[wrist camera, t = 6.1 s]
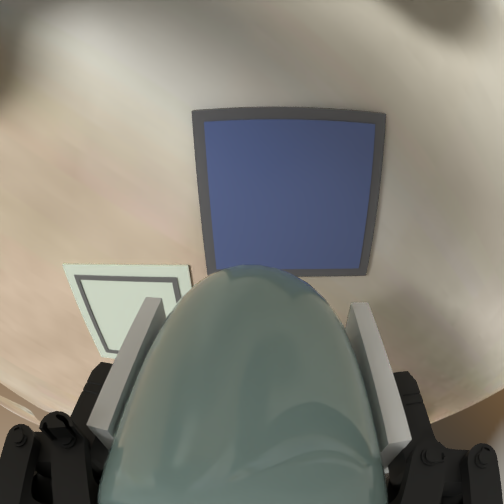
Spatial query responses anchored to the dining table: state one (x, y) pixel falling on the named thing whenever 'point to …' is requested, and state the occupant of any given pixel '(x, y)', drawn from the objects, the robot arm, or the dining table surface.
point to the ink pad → (289, 187)
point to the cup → (247, 403)
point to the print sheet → (122, 296)
